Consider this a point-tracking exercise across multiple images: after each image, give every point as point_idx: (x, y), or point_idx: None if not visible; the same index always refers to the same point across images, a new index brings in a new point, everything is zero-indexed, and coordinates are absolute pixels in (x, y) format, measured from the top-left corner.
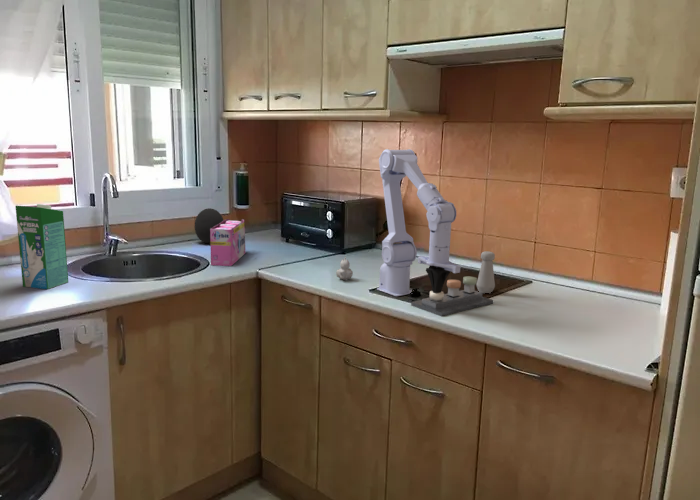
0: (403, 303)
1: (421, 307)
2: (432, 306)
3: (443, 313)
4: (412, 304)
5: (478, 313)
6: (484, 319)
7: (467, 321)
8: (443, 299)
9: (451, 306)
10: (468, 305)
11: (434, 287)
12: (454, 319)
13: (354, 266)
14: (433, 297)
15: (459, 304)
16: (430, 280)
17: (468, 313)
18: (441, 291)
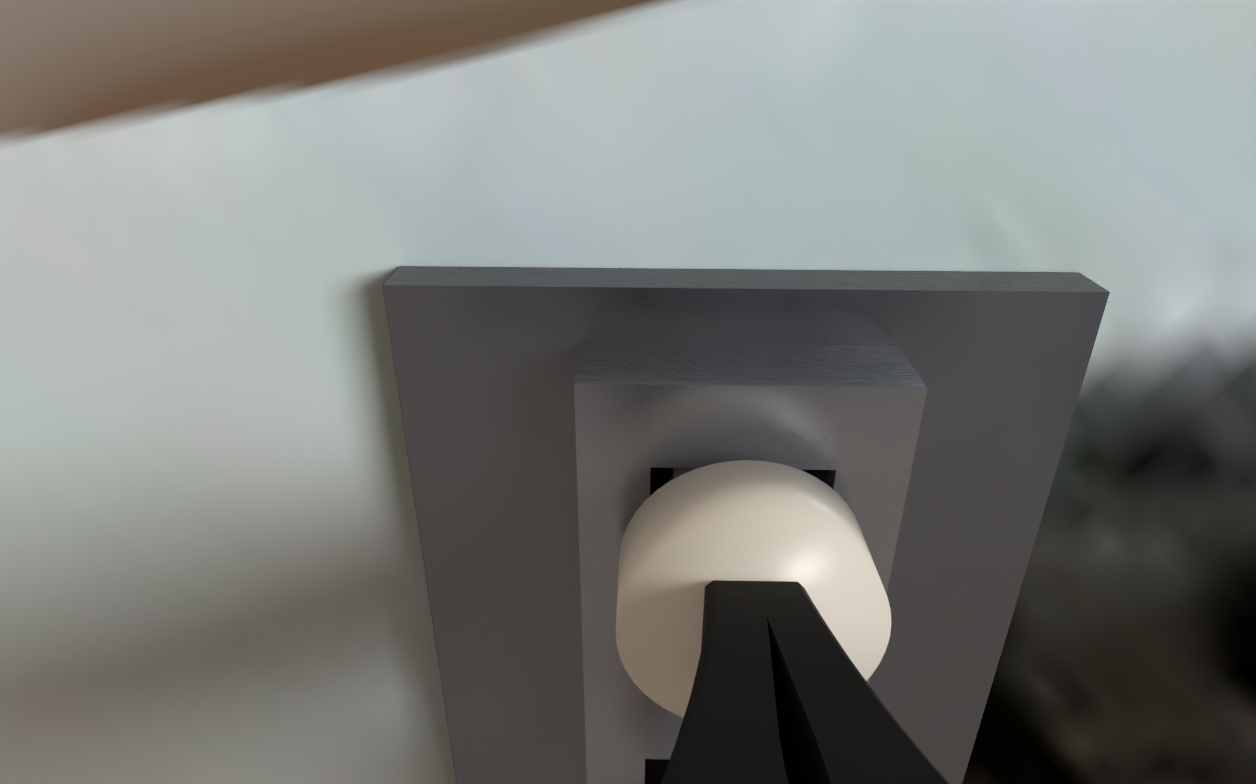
0: (1244, 242)
1: (845, 278)
2: (654, 354)
3: (394, 318)
4: (1061, 280)
5: (297, 692)
6: (82, 601)
7: (71, 398)
8: None
9: (552, 596)
10: (474, 755)
11: (752, 653)
12: (206, 319)
13: None
14: (709, 484)
15: (560, 713)
16: (927, 773)
17: (345, 618)
18: None
